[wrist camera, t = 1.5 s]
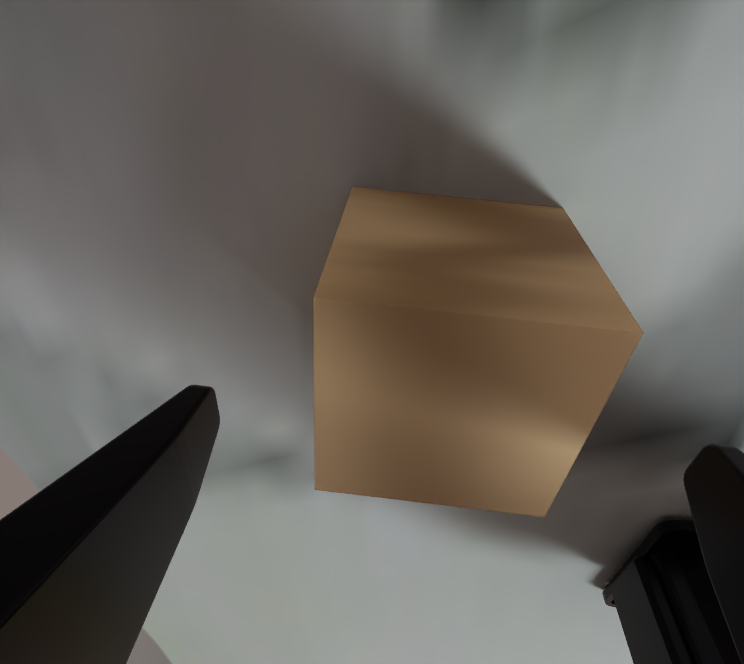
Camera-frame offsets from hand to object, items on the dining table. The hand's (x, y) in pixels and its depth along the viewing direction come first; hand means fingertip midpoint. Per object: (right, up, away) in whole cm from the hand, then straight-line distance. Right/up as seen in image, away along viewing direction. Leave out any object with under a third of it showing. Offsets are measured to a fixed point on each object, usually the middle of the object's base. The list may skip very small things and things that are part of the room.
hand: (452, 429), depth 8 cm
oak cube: (0, +3, +4) cm, 5 cm away
